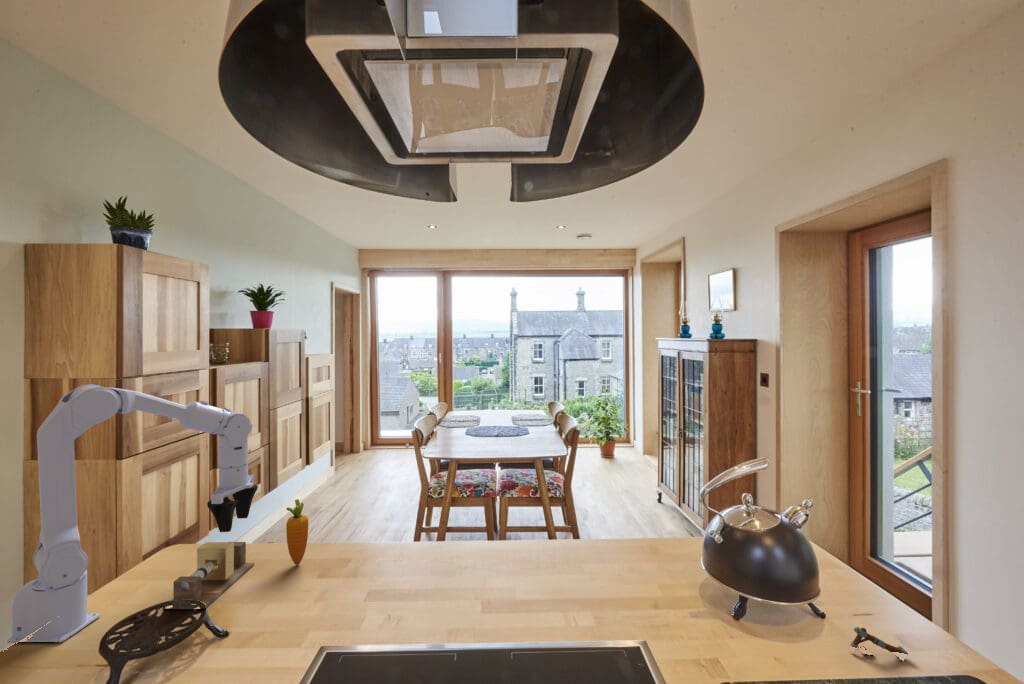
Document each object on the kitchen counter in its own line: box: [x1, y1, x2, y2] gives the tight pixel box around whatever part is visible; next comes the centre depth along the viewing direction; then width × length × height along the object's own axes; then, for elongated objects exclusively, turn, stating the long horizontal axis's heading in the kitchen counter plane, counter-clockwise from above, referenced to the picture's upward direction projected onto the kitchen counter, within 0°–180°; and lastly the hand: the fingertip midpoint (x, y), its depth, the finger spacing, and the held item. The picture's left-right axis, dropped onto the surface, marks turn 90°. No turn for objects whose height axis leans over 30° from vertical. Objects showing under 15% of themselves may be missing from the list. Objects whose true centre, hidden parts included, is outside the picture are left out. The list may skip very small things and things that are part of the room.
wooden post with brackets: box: [850, 626, 909, 656], centre depth 78 cm, size 2×8×4 cm, turn 80°
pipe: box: [179, 546, 236, 592], centre depth 99 cm, size 18×2×2 cm, turn 1°
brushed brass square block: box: [196, 541, 235, 580], centre depth 100 cm, size 3×6×7 cm, turn 91°
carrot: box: [285, 499, 309, 566], centre depth 109 cm, size 5×5×15 cm
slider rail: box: [170, 541, 255, 608], centre depth 99 cm, size 18×8×6 cm, turn 1°
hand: (234, 524), depth 106 cm, fingers open, 7 cm apart
